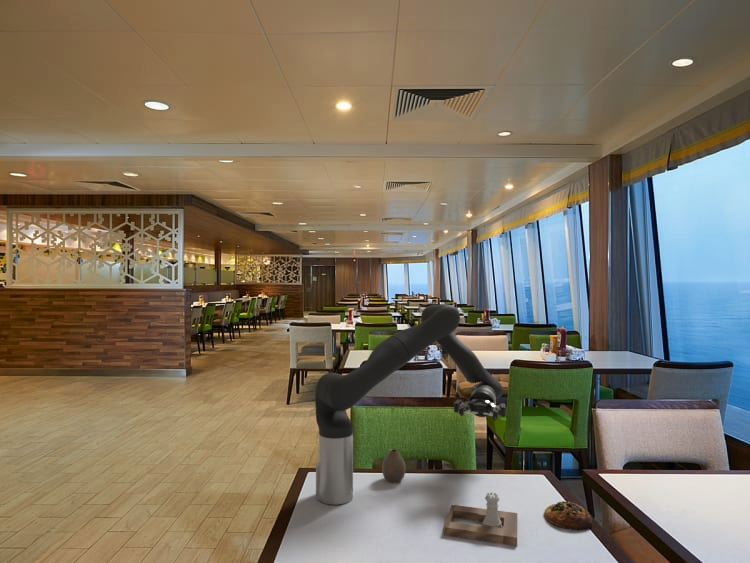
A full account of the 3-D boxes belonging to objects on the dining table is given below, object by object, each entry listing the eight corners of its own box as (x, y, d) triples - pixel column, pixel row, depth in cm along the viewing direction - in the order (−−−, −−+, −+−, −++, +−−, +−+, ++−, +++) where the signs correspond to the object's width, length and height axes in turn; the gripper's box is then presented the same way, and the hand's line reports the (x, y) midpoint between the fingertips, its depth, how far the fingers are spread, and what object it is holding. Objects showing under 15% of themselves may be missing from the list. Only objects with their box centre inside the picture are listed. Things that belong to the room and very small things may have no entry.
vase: (403, 486, 135) (403, 455, 135) (380, 484, 137) (380, 453, 137) (407, 476, 142) (406, 447, 142) (384, 475, 143) (384, 446, 144)
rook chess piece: (491, 535, 108) (491, 500, 108) (478, 527, 112) (478, 493, 112) (506, 530, 110) (506, 496, 110) (493, 522, 114) (492, 489, 114)
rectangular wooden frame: (444, 535, 108) (444, 527, 108) (451, 511, 119) (451, 504, 119) (517, 546, 103) (517, 537, 103) (517, 520, 115) (517, 513, 115)
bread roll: (584, 536, 107) (580, 513, 108) (537, 526, 115) (534, 505, 115) (600, 521, 115) (597, 499, 116) (555, 513, 123) (553, 492, 124)
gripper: (459, 387, 145) (451, 397, 130) (507, 390, 141) (505, 402, 125) (458, 411, 145) (451, 425, 129) (506, 416, 141) (505, 430, 125)
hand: (477, 413), depth 127 cm, fingers open, 8 cm apart
